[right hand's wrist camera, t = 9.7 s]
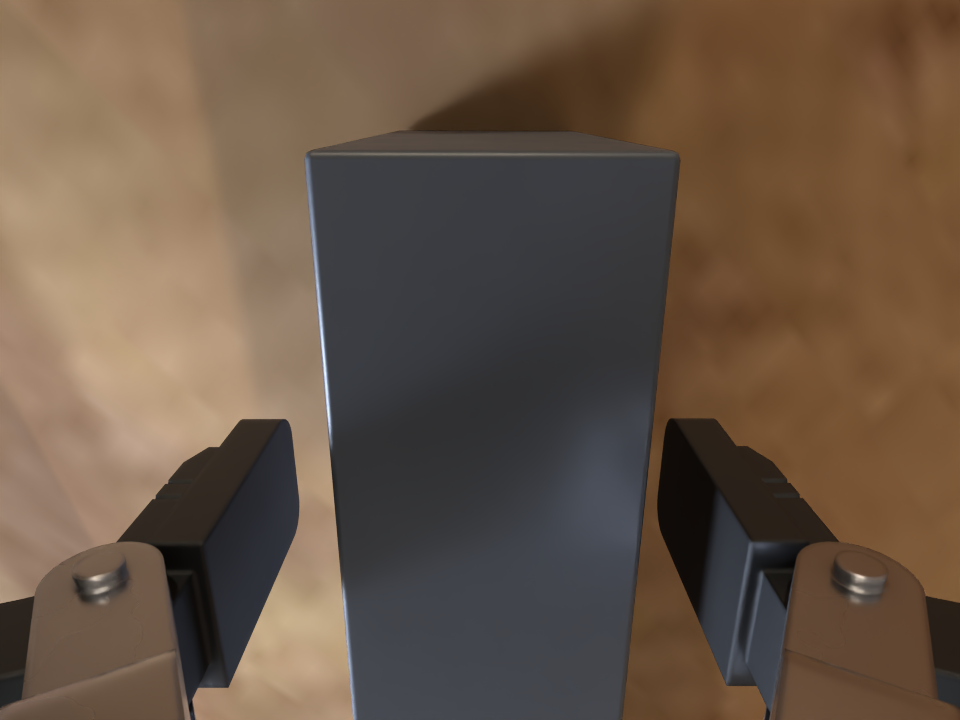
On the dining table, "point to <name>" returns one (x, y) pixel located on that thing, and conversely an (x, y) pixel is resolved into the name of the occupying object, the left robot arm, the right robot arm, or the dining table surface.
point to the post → (490, 411)
